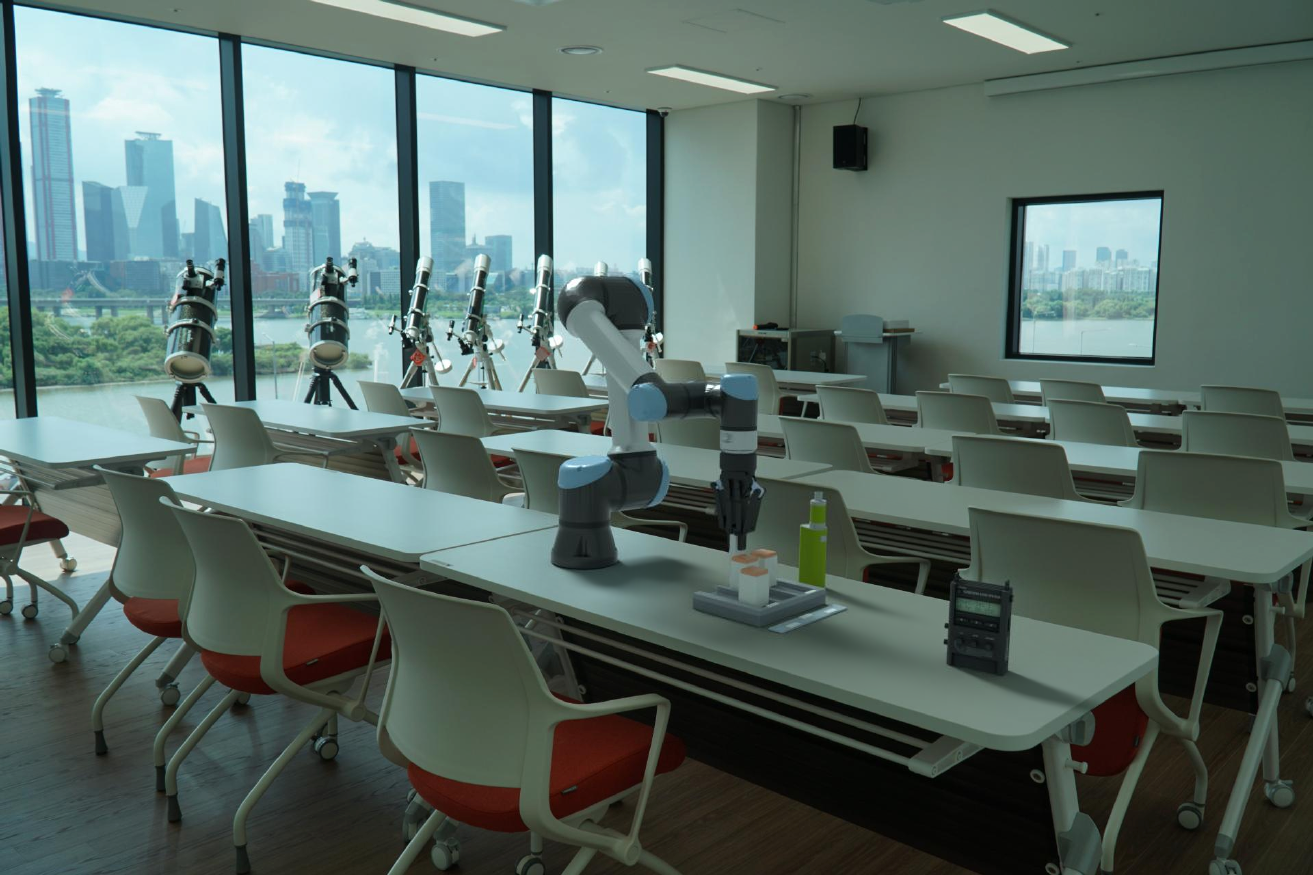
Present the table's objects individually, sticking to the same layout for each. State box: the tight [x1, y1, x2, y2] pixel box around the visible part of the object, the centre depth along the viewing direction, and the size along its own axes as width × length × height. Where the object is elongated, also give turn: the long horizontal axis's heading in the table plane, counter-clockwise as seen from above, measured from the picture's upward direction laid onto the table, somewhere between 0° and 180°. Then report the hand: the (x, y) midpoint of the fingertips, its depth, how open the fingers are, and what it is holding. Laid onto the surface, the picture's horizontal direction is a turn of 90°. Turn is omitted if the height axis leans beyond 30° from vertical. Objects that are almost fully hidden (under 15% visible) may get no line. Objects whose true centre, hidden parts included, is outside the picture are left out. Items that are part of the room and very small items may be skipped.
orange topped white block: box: [739, 566, 769, 607], centre depth 186 cm, size 4×4×7 cm
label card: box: [768, 603, 848, 634], centre depth 185 cm, size 3×21×1 cm, turn 137°
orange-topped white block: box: [729, 553, 759, 590], centre depth 195 cm, size 4×4×7 cm
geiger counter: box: [943, 571, 1015, 677], centre depth 160 cm, size 10×4×15 cm, turn 56°
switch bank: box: [692, 576, 827, 628], centre depth 193 cm, size 16×21×3 cm
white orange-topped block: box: [750, 548, 778, 587], centre depth 199 cm, size 4×4×7 cm
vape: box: [797, 491, 828, 589], centre depth 206 cm, size 4×6×20 cm, turn 37°
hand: (736, 564), depth 204 cm, fingers closed
